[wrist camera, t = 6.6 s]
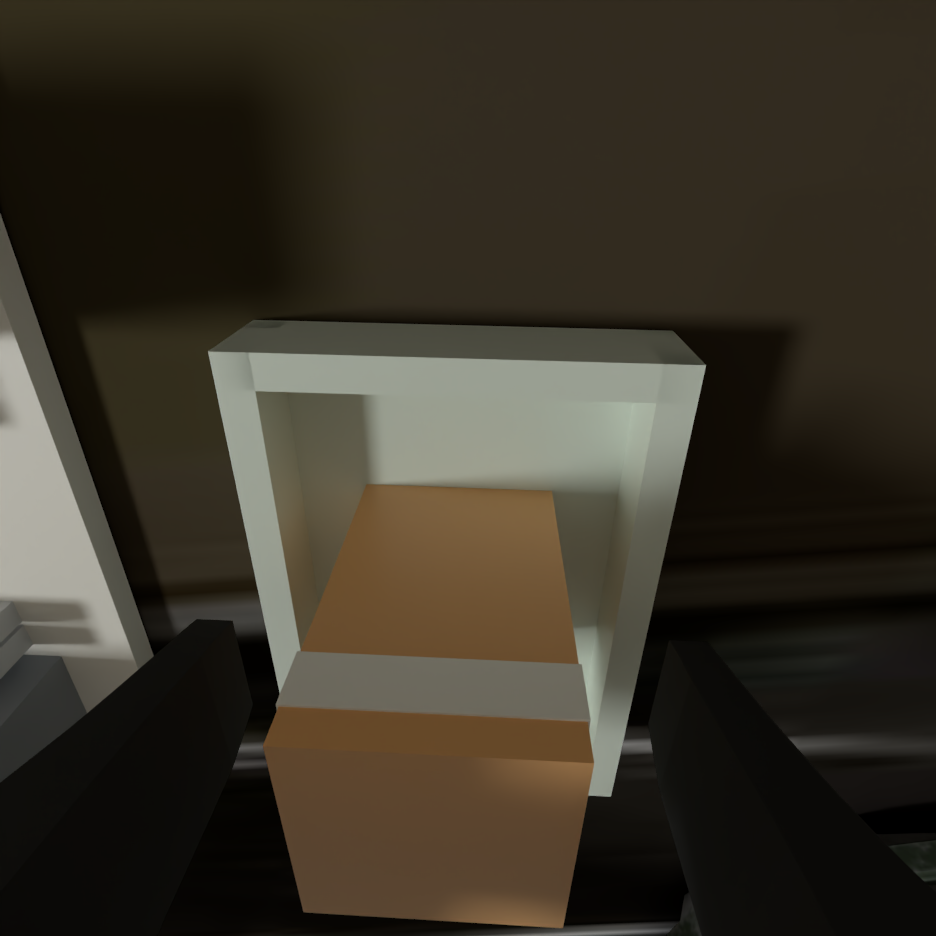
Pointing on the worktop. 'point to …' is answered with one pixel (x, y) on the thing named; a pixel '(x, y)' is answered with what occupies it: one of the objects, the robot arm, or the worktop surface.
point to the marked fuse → (437, 716)
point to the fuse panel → (51, 551)
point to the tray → (466, 461)
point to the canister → (920, 851)
